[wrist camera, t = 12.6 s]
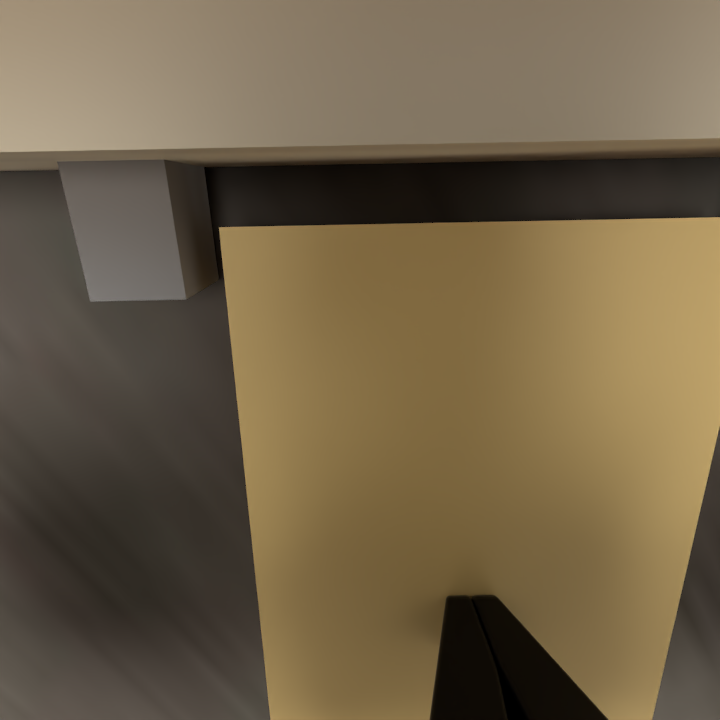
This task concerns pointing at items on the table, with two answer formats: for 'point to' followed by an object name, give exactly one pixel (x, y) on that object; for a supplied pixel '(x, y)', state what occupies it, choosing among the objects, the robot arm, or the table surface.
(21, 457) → the table surface
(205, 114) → the socket plate
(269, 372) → the latch flap
